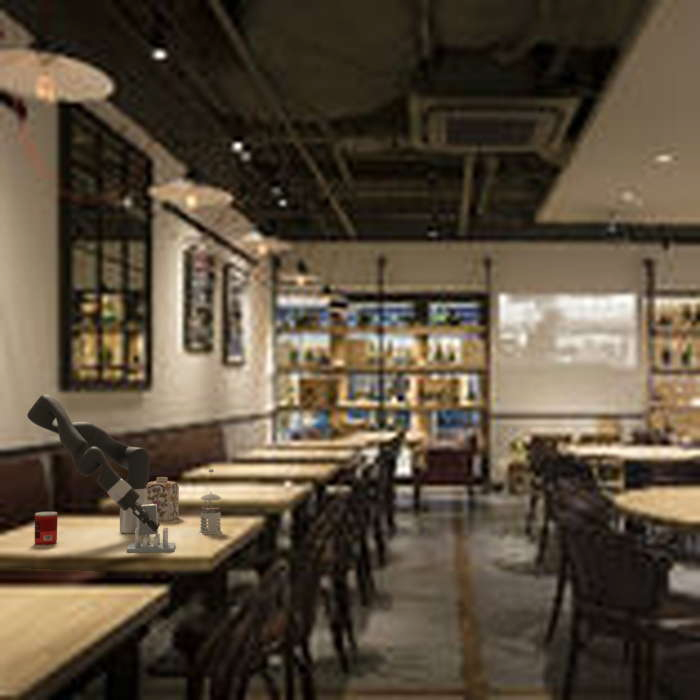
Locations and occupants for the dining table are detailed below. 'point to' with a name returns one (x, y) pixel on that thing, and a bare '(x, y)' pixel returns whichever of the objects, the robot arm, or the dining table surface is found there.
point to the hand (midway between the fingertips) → (157, 528)
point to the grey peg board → (151, 547)
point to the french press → (210, 515)
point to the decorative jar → (164, 498)
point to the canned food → (46, 528)
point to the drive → (152, 513)
